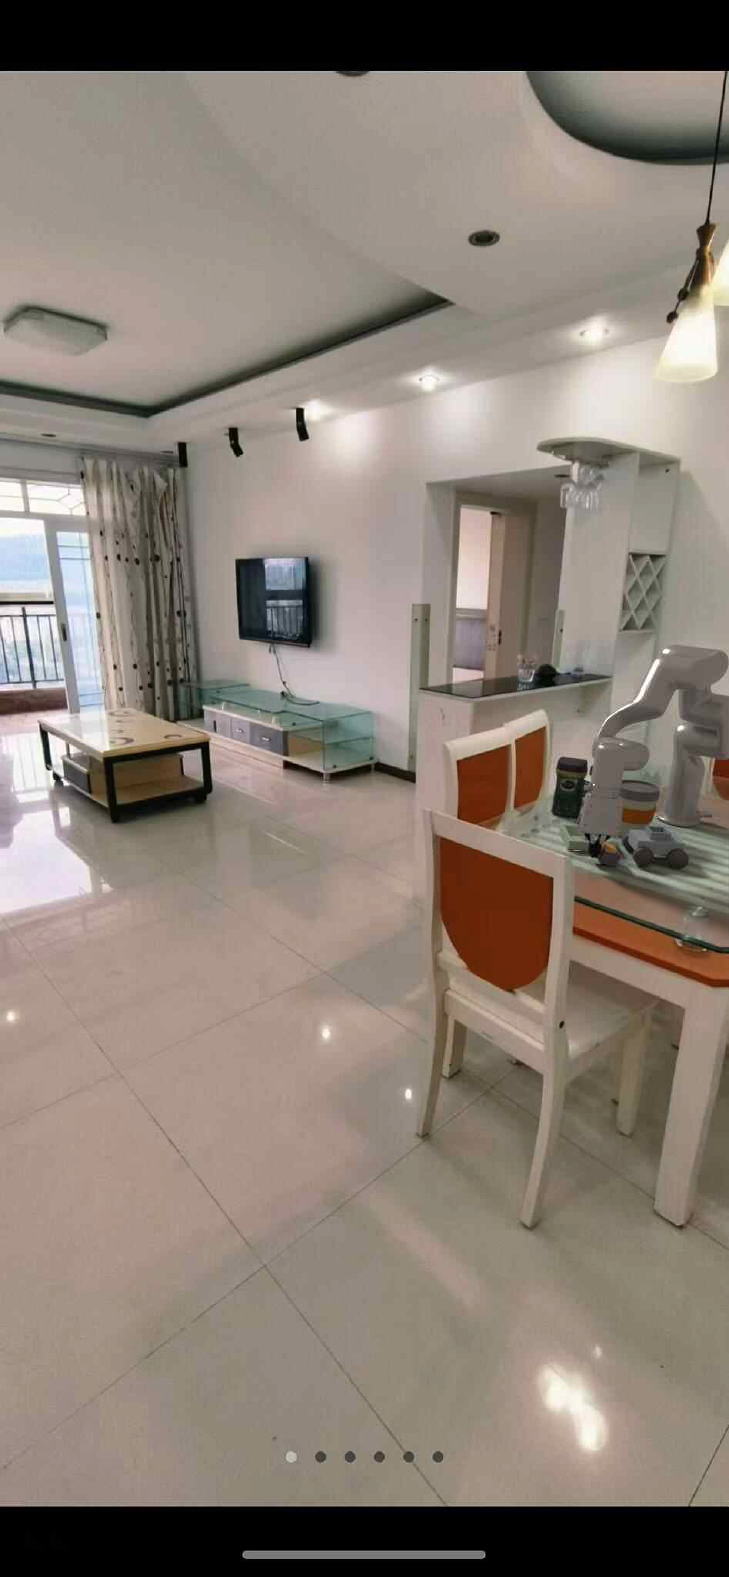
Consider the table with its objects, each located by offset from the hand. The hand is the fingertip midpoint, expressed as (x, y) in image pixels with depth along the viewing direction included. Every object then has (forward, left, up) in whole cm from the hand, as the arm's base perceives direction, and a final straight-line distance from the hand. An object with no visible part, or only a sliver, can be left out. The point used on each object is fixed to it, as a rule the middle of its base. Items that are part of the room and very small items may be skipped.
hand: (593, 856), depth 177 cm
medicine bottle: (-13, -54, -2) cm, 55 cm away
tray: (-1, -14, -2) cm, 14 cm away
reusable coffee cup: (-16, -24, -2) cm, 29 cm away
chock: (-4, 0, -2) cm, 4 cm away
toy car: (-17, -6, -2) cm, 18 cm away
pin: (-1, -14, -1) cm, 14 cm away
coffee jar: (0, -38, -2) cm, 38 cm away
